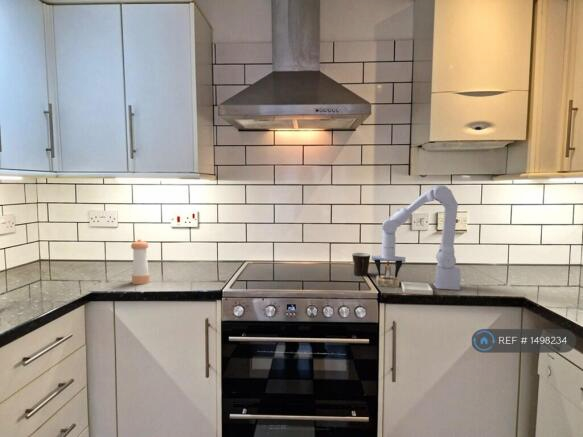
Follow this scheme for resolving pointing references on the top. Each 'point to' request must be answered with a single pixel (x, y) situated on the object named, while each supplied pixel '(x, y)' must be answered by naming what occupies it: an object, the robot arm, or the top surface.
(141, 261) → the pepper shaker
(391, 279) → the block
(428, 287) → the tray
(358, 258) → the coffee mug
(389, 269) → the pin
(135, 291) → the top surface
